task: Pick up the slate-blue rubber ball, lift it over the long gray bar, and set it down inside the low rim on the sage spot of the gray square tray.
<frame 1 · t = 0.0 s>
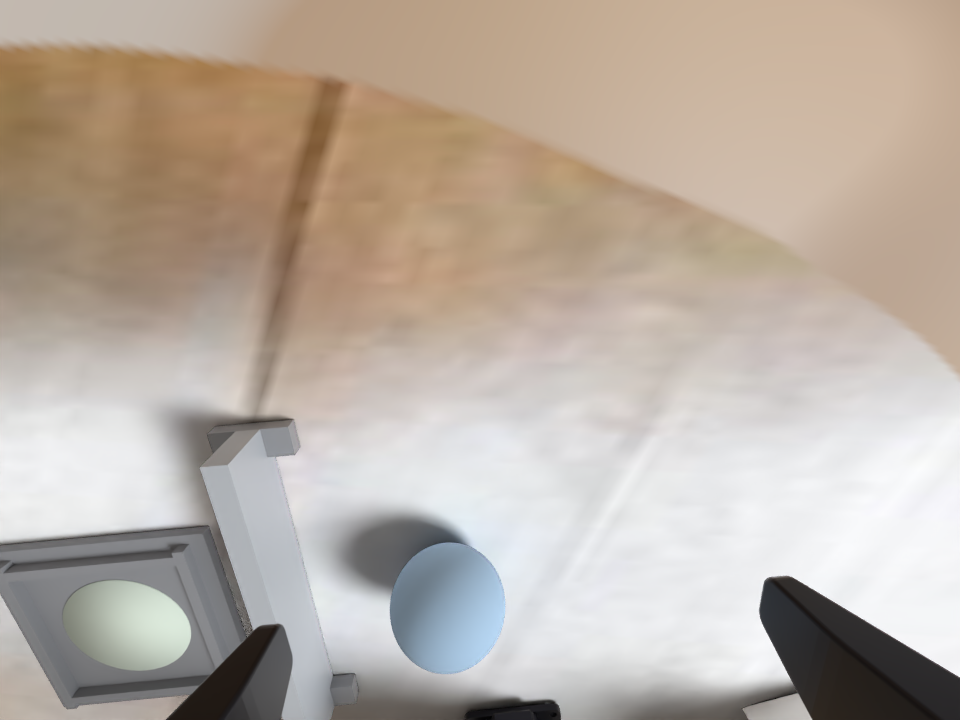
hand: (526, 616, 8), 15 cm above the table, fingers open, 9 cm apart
long gray bar: (296, 575, 26), on the table
ball: (449, 560, 26), on the table
gray square tray: (135, 617, 26), on the table
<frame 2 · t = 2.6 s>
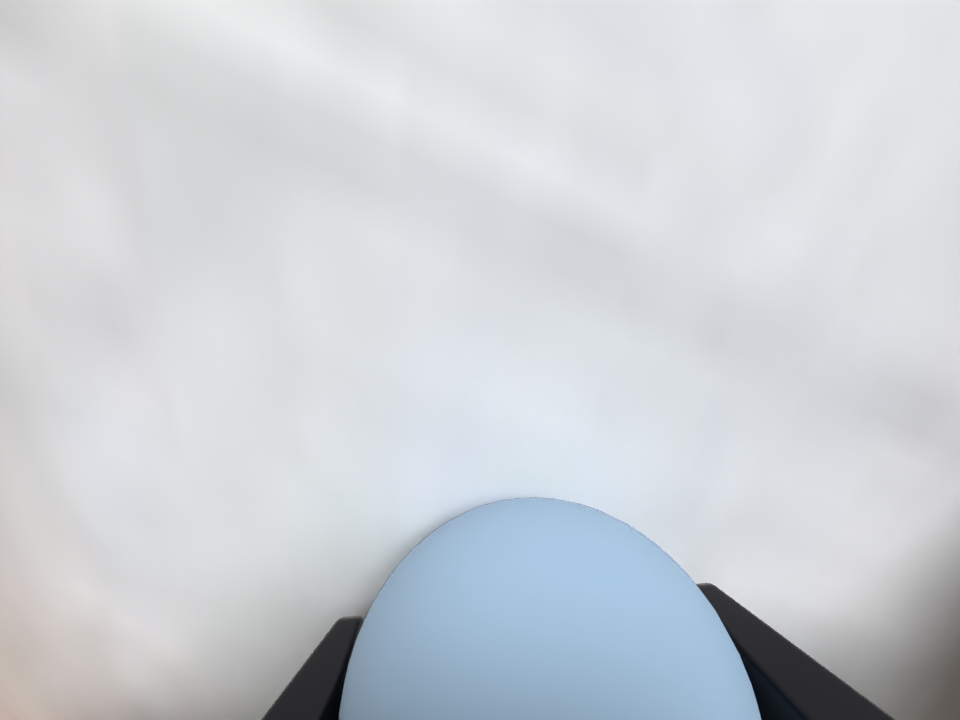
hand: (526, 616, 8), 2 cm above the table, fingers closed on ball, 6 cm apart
ball: (516, 556, 10), on the table, touching gripper
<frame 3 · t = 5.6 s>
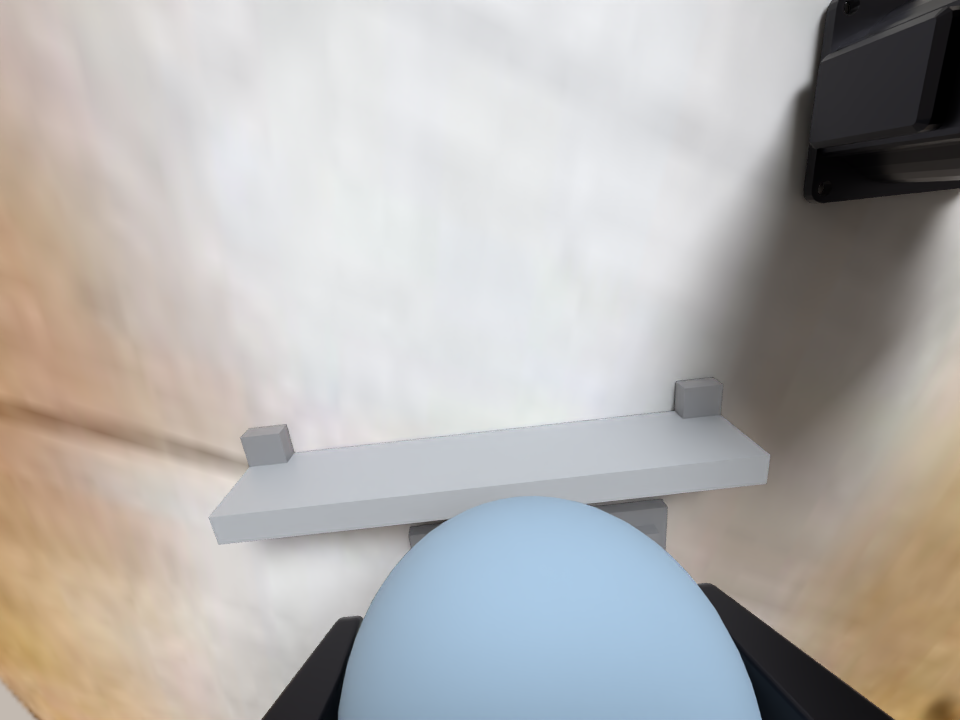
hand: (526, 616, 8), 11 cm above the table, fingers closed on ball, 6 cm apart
long gray bar: (485, 443, 20), on the table
ball: (516, 554, 10), point 10 cm above the table, touching gripper
gray square tray: (543, 608, 23), on the table
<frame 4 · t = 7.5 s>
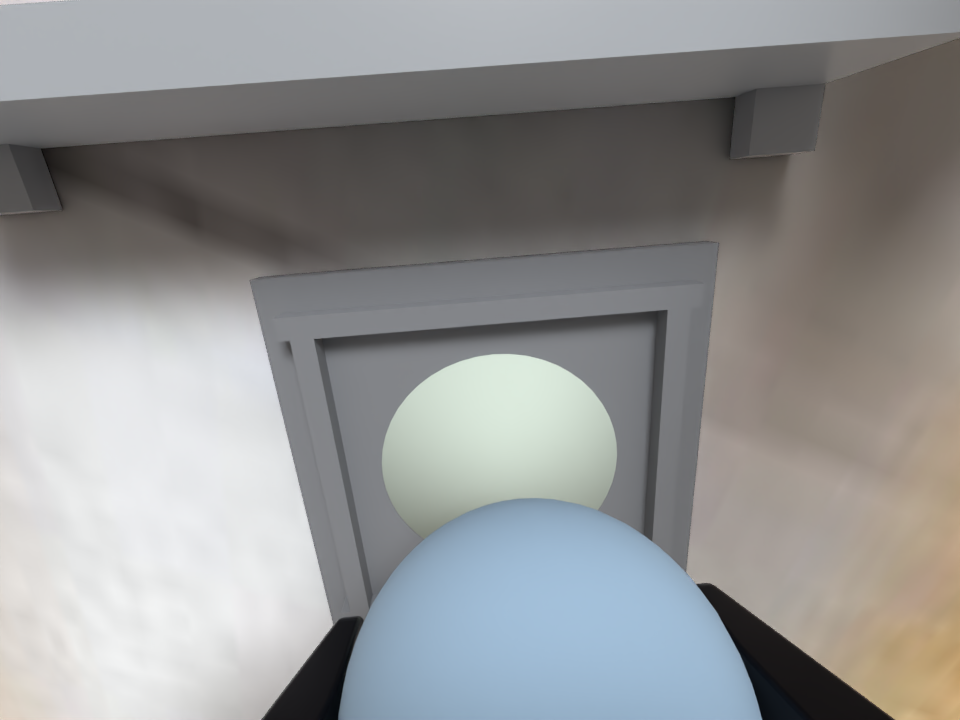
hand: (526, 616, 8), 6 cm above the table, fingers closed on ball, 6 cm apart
long gray bar: (389, 94, 10), on the table
ball: (516, 556, 10), point 4 cm above the table, touching gripper
gray square tray: (498, 454, 14), on the table
when the fingers open (3 cm above the table, at t = 8.8 s): ball drops 1 cm, resting on gray square tray.
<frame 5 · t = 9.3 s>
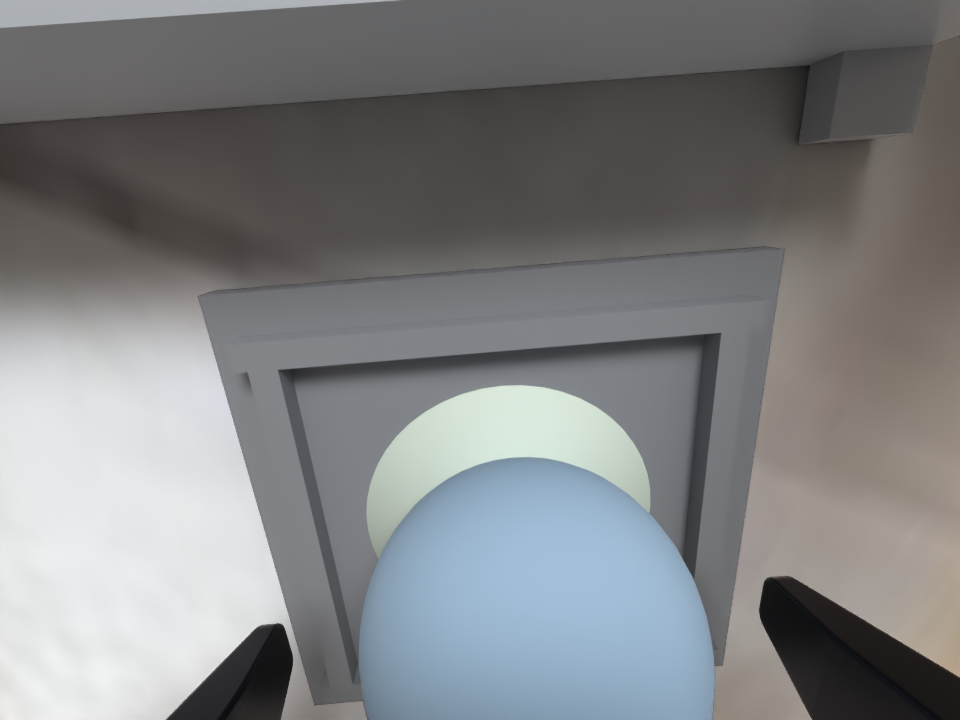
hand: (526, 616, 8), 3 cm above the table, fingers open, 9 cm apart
long gray bar: (371, 59, 8), on the table
ball: (509, 516, 11), point 1 cm above the table, touching gray square tray
gray square tray: (507, 500, 12), on the table
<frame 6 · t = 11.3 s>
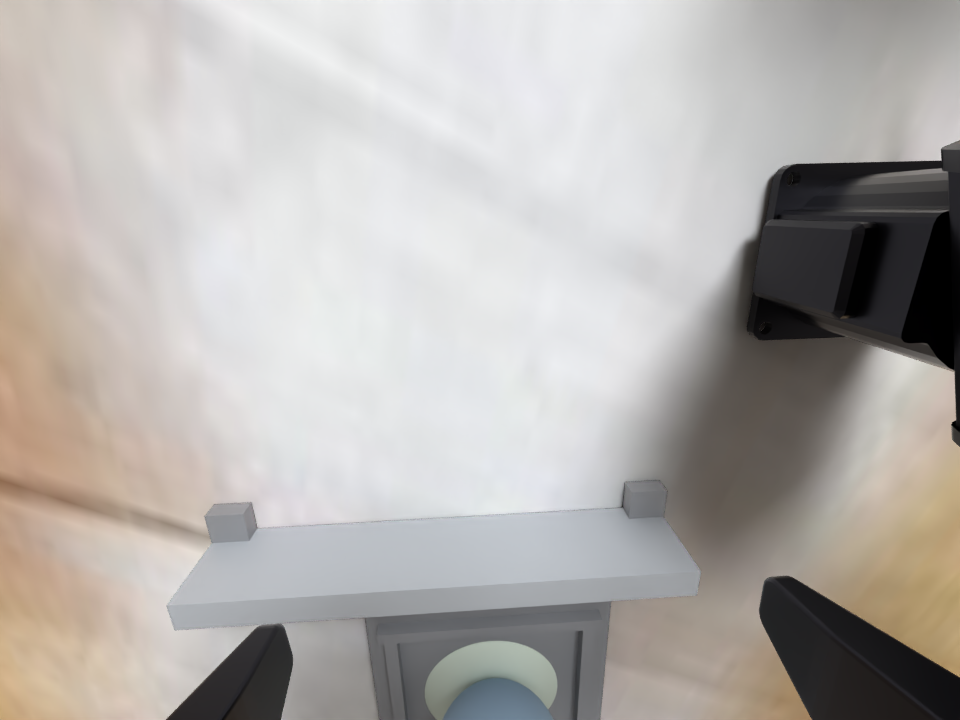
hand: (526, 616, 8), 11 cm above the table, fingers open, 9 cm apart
long gray bar: (444, 528, 21), on the table
ball: (491, 691, 23), point 1 cm above the table, touching gray square tray
gray square tray: (490, 678, 24), on the table
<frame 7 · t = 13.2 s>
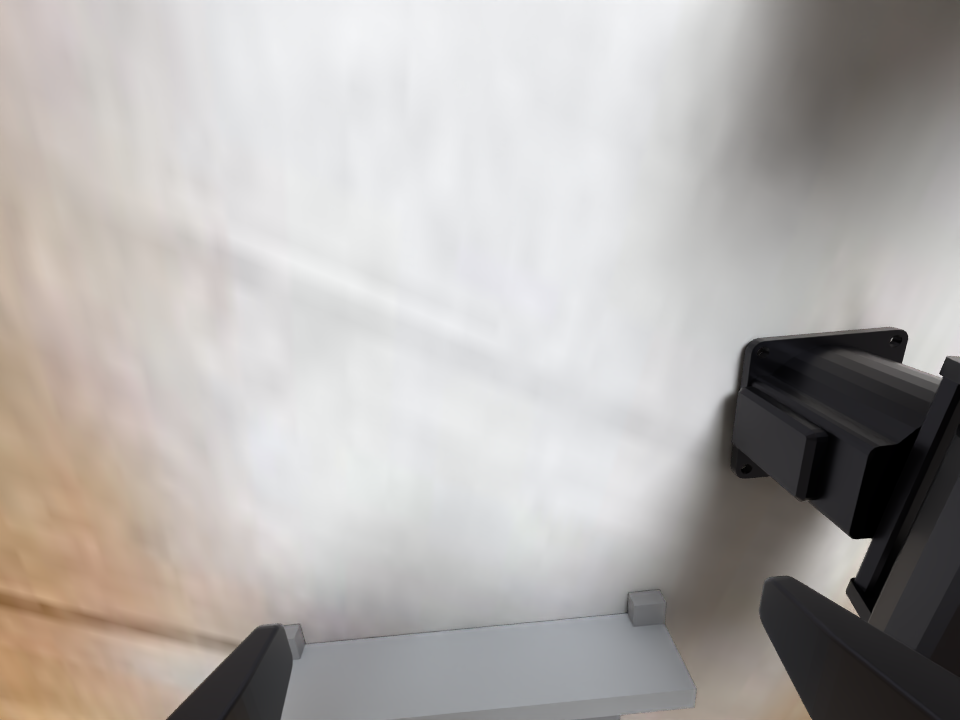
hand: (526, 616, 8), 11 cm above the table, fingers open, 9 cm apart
long gray bar: (468, 637, 23), on the table
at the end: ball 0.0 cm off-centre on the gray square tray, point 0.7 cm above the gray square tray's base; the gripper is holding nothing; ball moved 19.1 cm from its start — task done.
